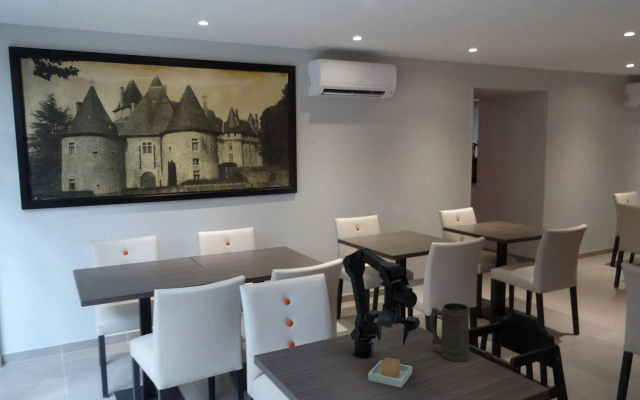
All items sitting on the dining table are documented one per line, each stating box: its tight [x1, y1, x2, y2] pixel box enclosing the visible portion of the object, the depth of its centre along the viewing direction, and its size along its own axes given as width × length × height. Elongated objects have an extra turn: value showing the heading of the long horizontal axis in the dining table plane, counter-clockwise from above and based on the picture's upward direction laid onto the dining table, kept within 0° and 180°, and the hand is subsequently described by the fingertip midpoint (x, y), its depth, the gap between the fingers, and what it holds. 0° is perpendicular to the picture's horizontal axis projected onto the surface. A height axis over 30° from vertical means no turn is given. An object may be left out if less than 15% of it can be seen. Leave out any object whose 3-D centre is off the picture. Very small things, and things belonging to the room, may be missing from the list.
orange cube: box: [381, 357, 401, 378], centre depth 168 cm, size 5×5×5 cm
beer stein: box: [428, 302, 471, 362], centre depth 185 cm, size 15×11×20 cm
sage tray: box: [367, 359, 413, 389], centre depth 168 cm, size 12×12×2 cm
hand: (391, 342), depth 171 cm, fingers open, 9 cm apart
